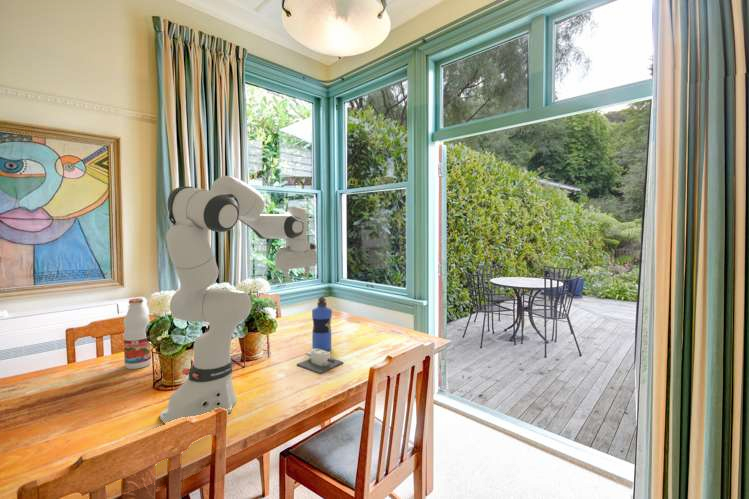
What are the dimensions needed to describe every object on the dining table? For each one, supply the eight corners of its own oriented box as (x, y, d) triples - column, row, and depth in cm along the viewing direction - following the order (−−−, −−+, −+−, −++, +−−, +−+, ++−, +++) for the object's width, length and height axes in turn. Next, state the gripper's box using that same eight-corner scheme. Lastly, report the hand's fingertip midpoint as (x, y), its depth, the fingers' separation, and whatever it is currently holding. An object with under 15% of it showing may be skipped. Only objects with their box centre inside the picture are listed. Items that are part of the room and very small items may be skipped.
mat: (320, 373, 145) (320, 372, 145) (296, 365, 153) (296, 363, 153) (343, 363, 156) (343, 361, 156) (320, 355, 165) (320, 354, 165)
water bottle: (333, 345, 178) (333, 295, 176) (329, 352, 169) (329, 300, 167) (314, 344, 179) (315, 295, 177) (309, 351, 170) (309, 299, 168)
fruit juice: (154, 359, 157) (152, 296, 155) (147, 368, 148) (145, 301, 146) (129, 361, 154) (126, 297, 152) (121, 370, 145) (118, 302, 143)
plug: (337, 366, 152) (337, 354, 151) (330, 369, 148) (330, 357, 148) (311, 357, 161) (311, 346, 160) (304, 360, 158) (304, 349, 157)
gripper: (281, 247, 141) (282, 282, 142) (319, 245, 157) (319, 276, 158) (271, 246, 144) (271, 280, 145) (309, 244, 161) (309, 275, 162)
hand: (296, 278), depth 152 cm, fingers open, 8 cm apart
